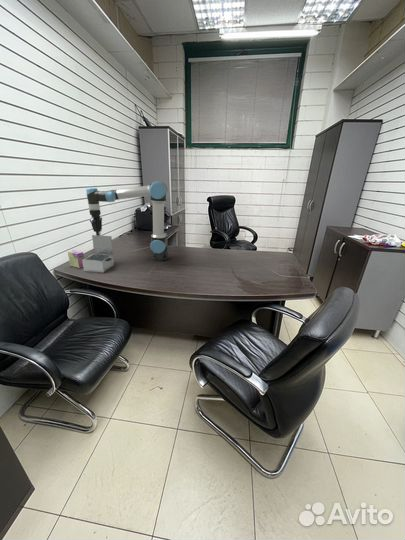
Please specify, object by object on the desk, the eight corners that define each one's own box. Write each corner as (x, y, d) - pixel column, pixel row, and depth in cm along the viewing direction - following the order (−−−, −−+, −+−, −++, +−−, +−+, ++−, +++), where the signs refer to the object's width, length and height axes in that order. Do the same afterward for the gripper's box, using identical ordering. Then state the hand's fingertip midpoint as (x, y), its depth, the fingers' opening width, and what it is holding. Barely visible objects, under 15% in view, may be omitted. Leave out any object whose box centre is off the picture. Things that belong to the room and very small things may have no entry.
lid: (112, 255, 175) (114, 254, 178) (110, 236, 170) (112, 235, 173) (94, 253, 177) (96, 252, 179) (92, 235, 172) (94, 234, 175)
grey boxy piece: (116, 265, 178) (114, 255, 175) (106, 273, 164) (104, 261, 161) (93, 263, 180) (91, 253, 177) (81, 270, 167) (79, 259, 163)
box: (85, 265, 176) (83, 251, 171) (79, 268, 171) (76, 253, 166) (76, 263, 180) (73, 249, 175) (70, 265, 175) (67, 251, 170)
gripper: (95, 208, 173) (99, 237, 182) (84, 210, 161) (89, 241, 170) (104, 208, 172) (107, 237, 181) (94, 210, 160) (98, 242, 169)
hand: (99, 239), depth 176 cm, fingers closed
